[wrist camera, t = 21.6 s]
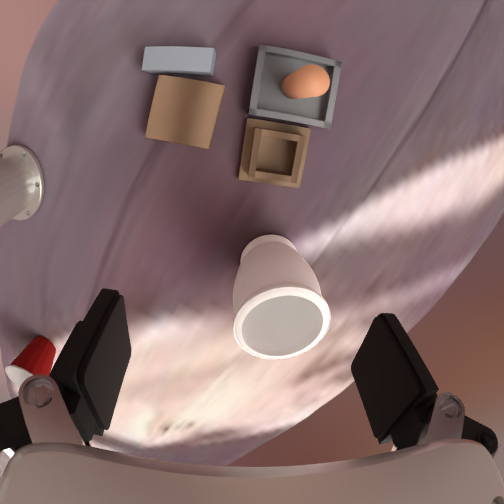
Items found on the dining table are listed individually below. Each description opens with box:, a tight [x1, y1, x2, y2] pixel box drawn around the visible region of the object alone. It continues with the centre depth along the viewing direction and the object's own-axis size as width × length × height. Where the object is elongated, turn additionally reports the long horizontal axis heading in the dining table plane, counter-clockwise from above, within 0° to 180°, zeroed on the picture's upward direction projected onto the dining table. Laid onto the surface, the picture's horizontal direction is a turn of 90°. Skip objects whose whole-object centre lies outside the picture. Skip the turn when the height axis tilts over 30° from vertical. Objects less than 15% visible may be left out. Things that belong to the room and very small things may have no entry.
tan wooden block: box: [145, 75, 225, 149], centre depth 32 cm, size 8×8×3 cm
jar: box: [233, 235, 331, 360], centre depth 37 cm, size 11×10×15 cm
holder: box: [238, 118, 311, 188], centre depth 35 cm, size 8×8×3 cm
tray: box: [248, 44, 342, 129], centre depth 31 cm, size 10×9×2 cm
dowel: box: [281, 64, 330, 99], centre depth 27 cm, size 3×3×10 cm
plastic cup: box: [5, 336, 56, 388], centre depth 46 cm, size 11×11×12 cm
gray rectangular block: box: [142, 46, 216, 76], centre depth 28 cm, size 8×3×4 cm, turn 82°
